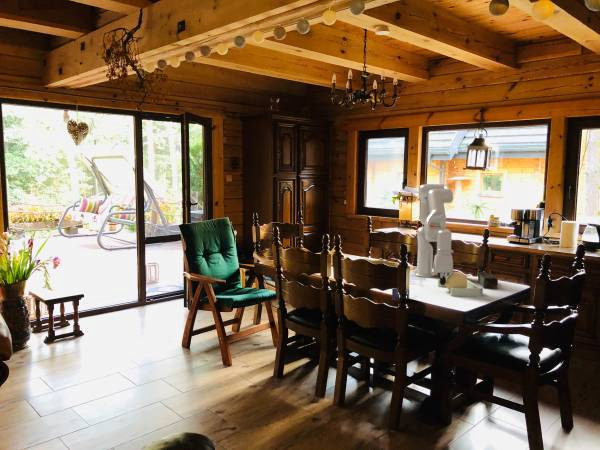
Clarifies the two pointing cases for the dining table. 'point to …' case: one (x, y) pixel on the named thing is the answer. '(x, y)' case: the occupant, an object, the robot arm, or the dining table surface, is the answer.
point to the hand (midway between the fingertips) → (442, 284)
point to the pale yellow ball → (456, 281)
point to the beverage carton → (487, 280)
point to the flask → (397, 295)
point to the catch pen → (465, 290)
